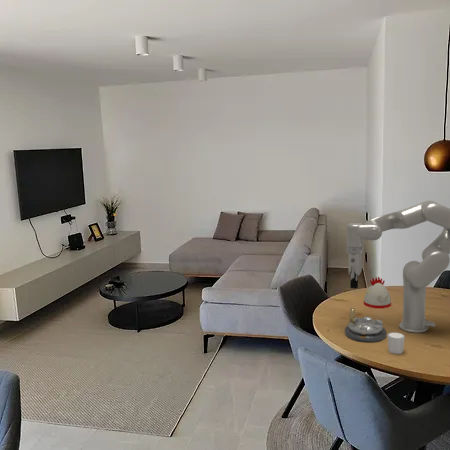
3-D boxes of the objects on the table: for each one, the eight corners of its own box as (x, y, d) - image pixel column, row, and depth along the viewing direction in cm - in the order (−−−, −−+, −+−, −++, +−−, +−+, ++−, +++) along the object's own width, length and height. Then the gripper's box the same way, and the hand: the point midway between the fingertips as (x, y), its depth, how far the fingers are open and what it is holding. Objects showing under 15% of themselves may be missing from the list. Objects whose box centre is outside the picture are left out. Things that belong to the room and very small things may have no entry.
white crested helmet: (359, 301, 264) (359, 274, 262) (382, 298, 267) (382, 272, 264) (371, 309, 251) (372, 281, 248) (396, 306, 253) (396, 279, 251)
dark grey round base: (387, 329, 225) (387, 324, 225) (384, 344, 209) (384, 339, 208) (348, 324, 232) (348, 320, 232) (342, 339, 216) (342, 334, 215)
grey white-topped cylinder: (390, 346, 207) (391, 330, 206) (406, 350, 203) (407, 334, 201) (384, 352, 202) (384, 336, 201) (401, 356, 197) (401, 339, 196)
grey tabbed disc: (383, 325, 224) (384, 306, 222) (380, 337, 210) (381, 317, 209) (351, 321, 229) (351, 303, 228) (346, 333, 216) (346, 314, 214)
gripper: (361, 253, 215) (360, 293, 218) (365, 246, 228) (364, 284, 232) (343, 252, 218) (343, 291, 221) (349, 245, 231) (348, 282, 234)
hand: (354, 287), depth 226 cm, fingers closed
